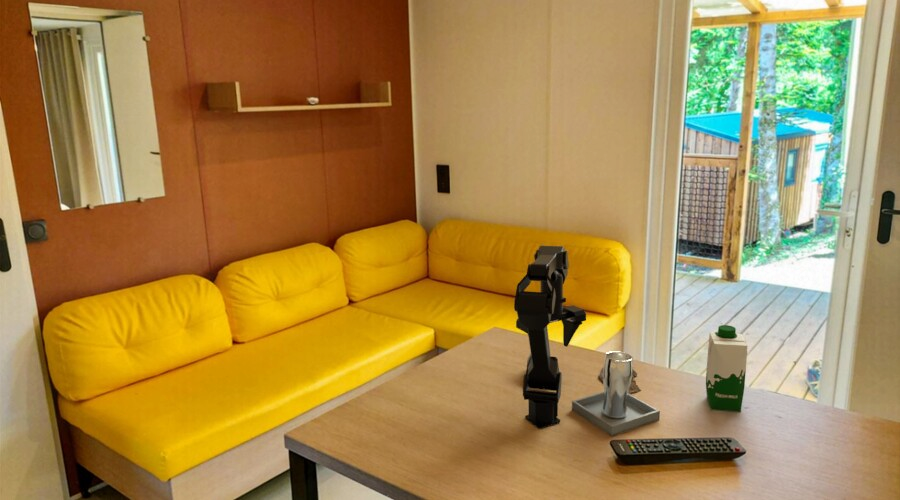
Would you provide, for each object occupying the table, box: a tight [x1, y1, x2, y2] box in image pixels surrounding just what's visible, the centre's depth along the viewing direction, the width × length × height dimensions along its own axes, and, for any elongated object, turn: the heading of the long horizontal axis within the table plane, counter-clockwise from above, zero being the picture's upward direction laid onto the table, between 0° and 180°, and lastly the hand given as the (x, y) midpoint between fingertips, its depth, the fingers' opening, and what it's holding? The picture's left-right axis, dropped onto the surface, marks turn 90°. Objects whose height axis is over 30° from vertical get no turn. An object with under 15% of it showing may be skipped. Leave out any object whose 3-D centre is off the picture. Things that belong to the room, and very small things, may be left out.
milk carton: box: [705, 324, 748, 413], centre depth 159 cm, size 9×9×20 cm
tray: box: [571, 391, 661, 437], centre depth 158 cm, size 15×15×2 cm
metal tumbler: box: [602, 350, 634, 418], centre depth 156 cm, size 7×7×15 cm
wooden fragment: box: [598, 368, 642, 395], centre depth 180 cm, size 26×11×1 cm, turn 169°
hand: (551, 349), depth 167 cm, fingers open, 9 cm apart
